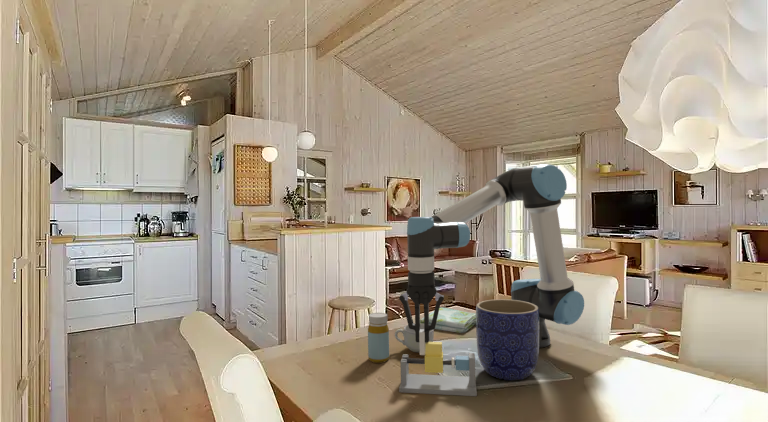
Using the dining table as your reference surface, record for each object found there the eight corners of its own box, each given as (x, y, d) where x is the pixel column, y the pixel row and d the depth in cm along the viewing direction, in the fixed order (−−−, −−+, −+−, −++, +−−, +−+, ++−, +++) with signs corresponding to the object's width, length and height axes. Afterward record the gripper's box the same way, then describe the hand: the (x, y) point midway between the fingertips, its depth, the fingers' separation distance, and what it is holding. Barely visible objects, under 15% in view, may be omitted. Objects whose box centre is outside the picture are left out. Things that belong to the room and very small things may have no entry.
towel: (465, 334, 172) (465, 322, 172) (417, 327, 183) (417, 315, 183) (481, 323, 187) (481, 311, 187) (436, 317, 199) (436, 306, 199)
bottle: (367, 356, 149) (367, 312, 149) (388, 355, 150) (387, 311, 149) (368, 363, 142) (368, 318, 142) (390, 362, 143) (389, 317, 142)
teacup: (434, 344, 160) (433, 323, 159) (434, 355, 149) (434, 332, 149) (396, 344, 161) (395, 322, 161) (394, 354, 150) (393, 331, 150)
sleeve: (443, 366, 126) (442, 340, 125) (442, 372, 121) (442, 345, 121) (425, 366, 126) (425, 340, 126) (424, 372, 122) (424, 345, 122)
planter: (496, 357, 145) (496, 296, 145) (550, 372, 132) (549, 305, 132) (464, 373, 132) (463, 306, 132) (520, 391, 119) (519, 317, 119)
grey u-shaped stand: (475, 381, 127) (474, 349, 127) (476, 396, 117) (476, 362, 117) (403, 377, 130) (403, 347, 130) (399, 392, 120) (398, 359, 120)
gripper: (444, 269, 126) (445, 349, 127) (400, 268, 129) (401, 348, 129) (443, 273, 119) (445, 359, 120) (396, 273, 121) (398, 357, 122)
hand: (422, 353), depth 124 cm, fingers closed
